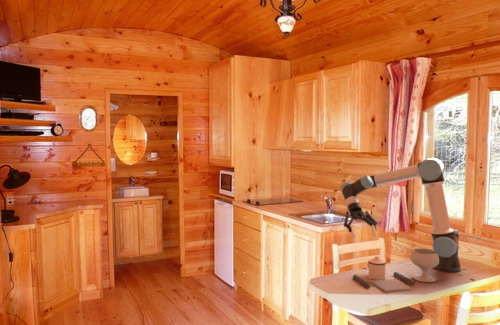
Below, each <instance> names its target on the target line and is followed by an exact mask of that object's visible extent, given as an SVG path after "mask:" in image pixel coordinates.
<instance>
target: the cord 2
mask: <svg viewBox="0 0 500 325" xmlns="http://www.w3.org/2000/svg"><path fill="white" fill-rule="evenodd" d="M393 276H394V277H396V279H400V280H401V281H402V282H404V283H406V284H408V285H410V286H412V285H414V281H413V280H411V279H410V278H408V277H406V276H405V275H403V274H401V273H399V272H397V271H394V272H393Z"/></svg>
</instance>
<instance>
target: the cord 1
mask: <svg viewBox="0 0 500 325" xmlns="http://www.w3.org/2000/svg"><path fill="white" fill-rule="evenodd" d="M352 279H353V280H355V281H356V282H357V283H359V284H361V285H362V286H363V287H365V288H366V289H370V288H371V283H369V282H368V281H366V280H364V279H363V278H361V277H360V276H359V275H357V274H353V276H352Z"/></svg>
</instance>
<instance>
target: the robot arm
mask: <svg viewBox="0 0 500 325" xmlns="http://www.w3.org/2000/svg"><path fill="white" fill-rule="evenodd" d="M444 169H445V166H444V163H443V162H442V161H441V160H440V159H439V158H436V157H429V158H425V159H423V160H422V161H419V162H417V163H416V164H415V165H411V166H406V167H403V168H398V169H393V170H391V171H385V172H381V173H377V174H372V175H368V174H365V175H364V176H361V177H360V178H359V179H357V180H356V181H354V182H344V183H342V184H341V185H340V190H341V194H342V196H343V198H344V200H345V204H346V207H347V211H345V214H344V216H345V218H344V222H343V227H344V228H346V229H347V230H348V233H350V235H351V238H352V239H354V238H355V237H356V233H355V231H354V227H353V226H352V223H353V221H354V220H356V221H357V220H361V221H363V222H365V223H366V224H368V226H370V229H371V232H372V234H373V237H374V238H376V237H377V236H378V232H377V224H378V221H376V220H375V218H374V217H372V215H371V214H370V213H369V211H368V210H365V211H363V209H362V205H361V204H360V201H359V198H358V195H360V194H362V193H363V192H365V191H367V190H369V189H373V188H379V187H382V186H386V185H387V186H388V185H391V184H396V183H400V182H404V181H405V182H406V181H409V180H413V179H419V178H420V180H421V185H422V186H424V187H425V189H426V196H427V202H428V206H429V211H430V212H429V213H430V217H431V224H432V228H433V229H432V230H431V239H432V245H431V246H432V250H434V251H436V252H437V254H438V256H439V264H438V265H437V266H436V267H433V268H432V269H434V270H439V271H442V272H449V273H453V272H454V273H458V272H461V271H462V265H461V260H460V258H459V244H460V243H459V242H460V240H459V239H460V238H459V237H460V232H459V230H458V229H454V228H452V227H451V223H450V222H451V221H450V218H449V214H448V207H447V202H446V197H445V191H444V186H443V184H444V183H445V181H446V180H445V175H444ZM349 216H351V219H350V221H349Z"/></svg>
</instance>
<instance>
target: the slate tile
mask: <svg viewBox="0 0 500 325" xmlns="http://www.w3.org/2000/svg"><path fill="white" fill-rule="evenodd" d="M370 284H372V285H373V286H375V287H376V288H378V289H379V290H381V291H383V292H384V293H395V292H406V291H408V292H409V291H411V290H412V288H411V287H410V286H408V285H406V284H404V283H403V282H401V281H399V280H397V278H396V279H395V278H390V279H384V280H374V279H373V280H370Z"/></svg>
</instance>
